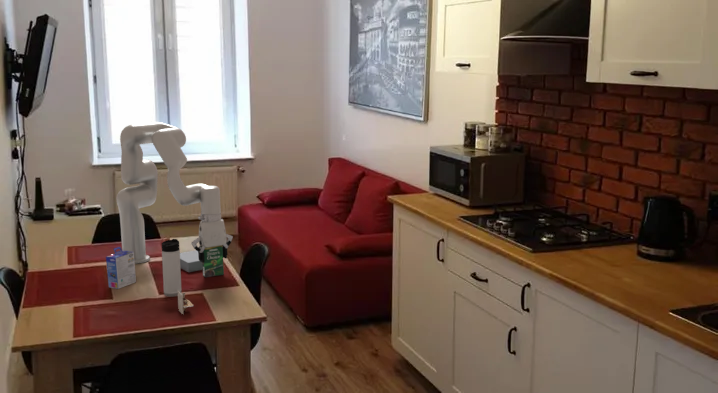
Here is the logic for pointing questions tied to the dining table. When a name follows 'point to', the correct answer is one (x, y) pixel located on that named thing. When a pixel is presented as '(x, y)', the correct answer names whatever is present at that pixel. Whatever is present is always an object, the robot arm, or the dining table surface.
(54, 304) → the dining table surface
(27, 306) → the dining table surface
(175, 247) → the travel mug
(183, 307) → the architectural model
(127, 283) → the ink cartridge box
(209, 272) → the coffee box
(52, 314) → the dining table surface
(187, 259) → the base block
